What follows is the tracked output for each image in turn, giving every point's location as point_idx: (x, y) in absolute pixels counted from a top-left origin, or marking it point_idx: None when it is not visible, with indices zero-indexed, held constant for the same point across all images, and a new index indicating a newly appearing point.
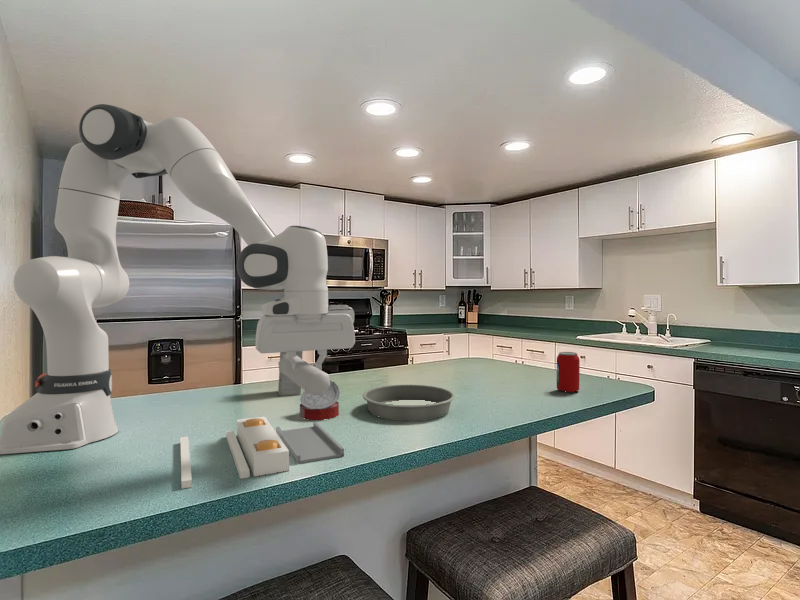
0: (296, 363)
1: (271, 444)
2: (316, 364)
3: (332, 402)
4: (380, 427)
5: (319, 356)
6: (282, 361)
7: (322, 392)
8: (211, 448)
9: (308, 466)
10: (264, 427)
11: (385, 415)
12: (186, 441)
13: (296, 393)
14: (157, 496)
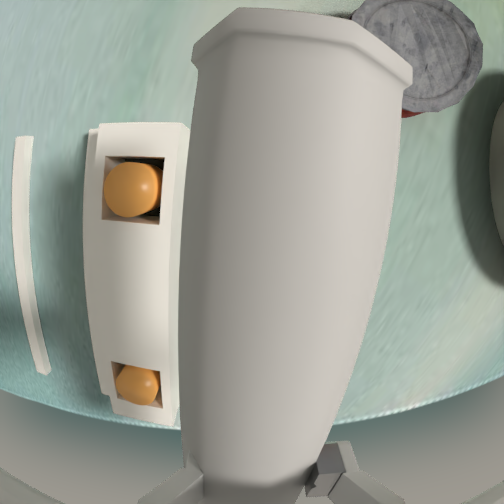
0: (198, 500)
1: (142, 401)
2: (315, 493)
3: (435, 103)
4: (454, 268)
5: (368, 497)
6: (204, 104)
7: None
8: (60, 205)
9: None
10: (148, 251)
11: (497, 212)
12: (19, 173)
13: None
14: (25, 367)
